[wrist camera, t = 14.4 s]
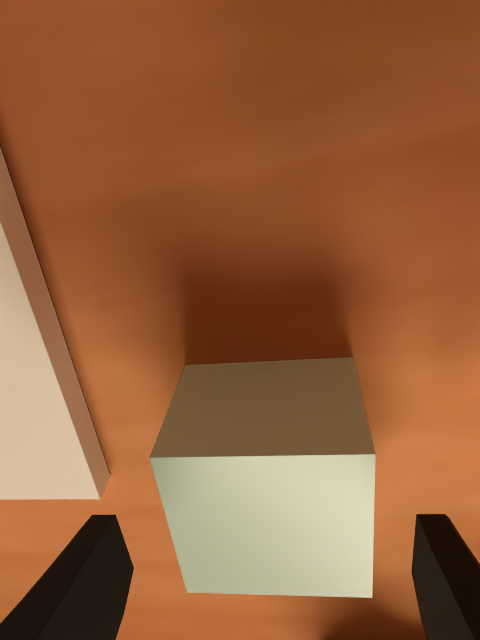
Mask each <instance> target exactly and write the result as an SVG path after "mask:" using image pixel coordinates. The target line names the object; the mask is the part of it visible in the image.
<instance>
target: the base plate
mask: <svg viewBox="0 0 480 640" xmlns="http://www.w3.org/2000/svg"><path fill="white" fill-rule="evenodd" d="M109 479H110V474H109V471H108V468H107V465H106V462H105V459H104V456H103V453H102V450H101V447H100V444H99V441H98V438H97V435H96V432H95V429H94V426H93V423H92V420H91V417H90V414H89V411H88V408H87V405H86V402H85V399H84V396H83V393H82V390H81V387H80V384H79V381H78V378H77V375H76V372H75V369H74V366H73V363H72V360H71V357H70V354H69V351H68V348H67V345H66V342H65V339H64V336H63V333H62V330H61V327H60V324H59V321H58V318H57V315H56V312H55V309H54V306H53V303H52V300H51V297H50V294H49V291H48V288H47V285H46V282H45V279H44V276H43V273H42V270H41V267H40V264H39V261H38V258H37V255H36V252H35V249H34V246H33V243H32V240H31V237H30V234H29V231H28V228H27V225H26V222H25V219H24V216H23V213H22V210H21V207H20V204H19V202H18V199H17V196H16V193H15V190H14V187H13V184H12V181H11V178H10V175H9V172H8V169H7V166H6V163H5V160H4V157H3V154H2V151H1V148H0V499H100V498H101V496H102V494H103V492H104V490H105V487H106V485H107V483H108V481H109Z"/></svg>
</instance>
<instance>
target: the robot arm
mask: <svg viewBox="0 0 480 640" xmlns="http://www.w3.org/2000/svg"><path fill="white" fill-rule="evenodd" d="M133 569H134V567H133V564H132V561H131V558H130V556H129V553H128V550H127V547H126V544H125V541H124V538H123V535H122V532H121V529H120V526H119V523H118V521H117V518H116V515H92V516H91V517H90V518H89V519H88V521H87V522H86V523H85V524H84V525H83V527H82V528H81V529H80V530H79V531H78V533H77V534H76V535H75V536H74V538H73V539H72V540H71V541H70V543H69V544H68V545H67V546H66V547H65V549H64V550H63V551H62V552H61V554H60V555H59V556H58V557H57V558H56V560H55V561H54V562H53V563H52V565H51V566H50V567H49V568H48V569H47V571H46V572H45V573H44V574H43V575H42V577H41V578H40V579H39V580H38V581H37V582H36V584H35V585H34V586H33V587H32V588H31V589H30V591H29V592H28V593H27V594H26V595H25V597H24V598H23V599H22V600H21V601H20V602H19V603H18V605H17V606H16V607H15V608H14V609H13V610H12V611H11V612H10V614H9V615H8V616H7V617H6V618H5V619H4V620H3V621H2V622H1V623H0V640H115V639H116V636H117V633H118V630H119V627H120V624H121V621H122V618H123V615H124V611H125V606H126V602H127V598H128V593H129V588H130V584H131V579H132V574H133ZM412 576H413V581H414V587H415V592H416V597H417V601H418V606H419V611H420V616H421V620H422V624H423V628H424V631H425V634H426V638H427V640H480V564H479V562H478V561H477V559H476V558H475V557H474V555H473V554H472V552H471V551H470V549H469V548H468V546H467V545H466V543H465V542H464V540H463V539H462V537H461V536H460V534H459V533H458V531H457V529H456V528H455V526H454V525H453V523H452V522H451V520H450V518H449V517H448V516H446V515H445V514H416V526H415V538H414V550H413V562H412Z"/></svg>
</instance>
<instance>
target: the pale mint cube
mask: <svg viewBox="0 0 480 640" xmlns="http://www.w3.org/2000/svg"><path fill="white" fill-rule="evenodd" d="M150 461H151V465H152V468H153V472H154V475H155V479H156V483H157V486H158V490H159V493H160V497H161V501H162V504H163V508H164V511H165V515H166V519H167V522H168V526H169V529H170V533H171V537H172V540H173V544H174V547H175V551H176V554H177V558H178V562H179V565H180V569H181V572H182V576H183V580H184V583H185V587H186V590H187V592H191V593H225V594H259V595H293V596H327V597H361V598H372V586H373V540H374V494H375V451H374V446H373V442H372V437H371V433H370V428H369V424H368V420H367V415H366V411H365V406H364V402H363V398H362V393H361V389H360V384H359V380H358V376H357V371H356V367H355V362H354V358H353V357H344V358H323V359H301V360H280V361H259V362H238V363H217V364H196V365H185V366H184V369H183V372H182V374H181V377H180V380H179V382H178V385H177V387H176V390H175V393H174V395H173V398H172V400H171V403H170V406H169V408H168V411H167V414H166V416H165V419H164V421H163V424H162V427H161V429H160V432H159V434H158V437H157V440H156V442H155V445H154V447H153V450H152V453H151V455H150Z"/></svg>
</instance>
